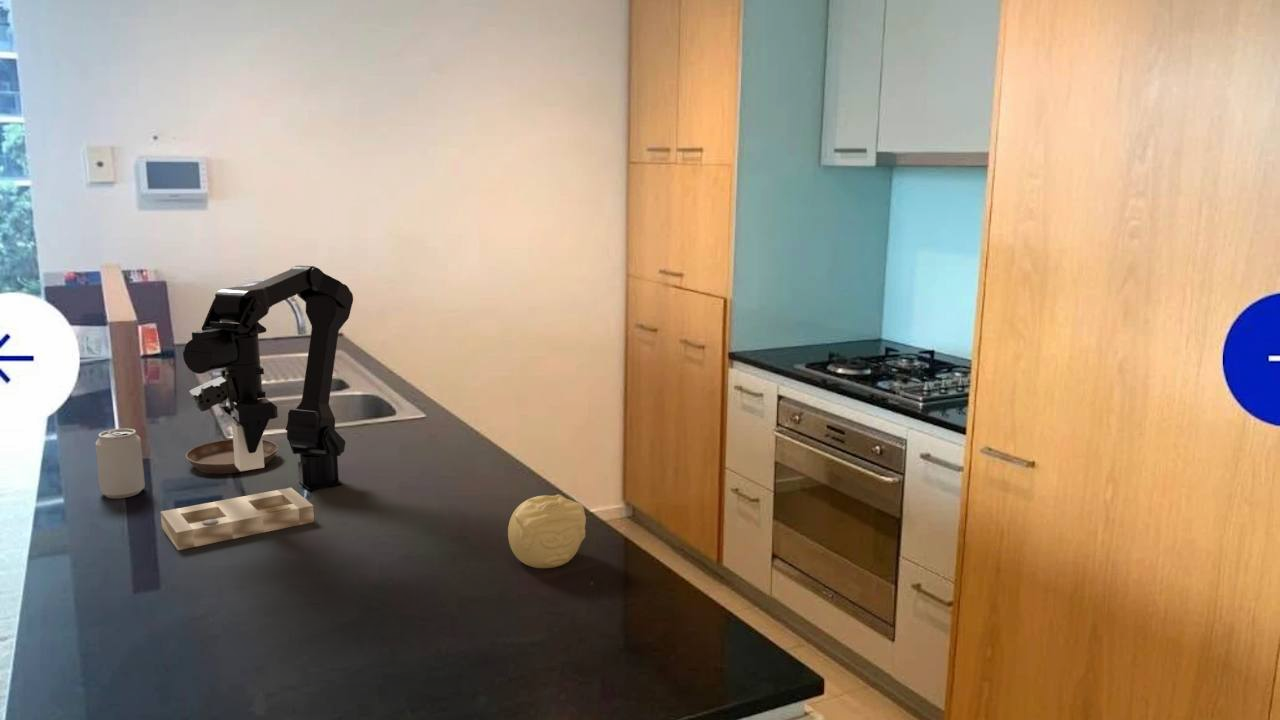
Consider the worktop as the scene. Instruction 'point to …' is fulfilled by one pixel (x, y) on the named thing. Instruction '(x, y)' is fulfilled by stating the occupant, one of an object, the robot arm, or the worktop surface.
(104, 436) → the can
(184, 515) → the socket block
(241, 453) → the plug
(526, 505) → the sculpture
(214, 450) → the plant saucer
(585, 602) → the worktop surface
